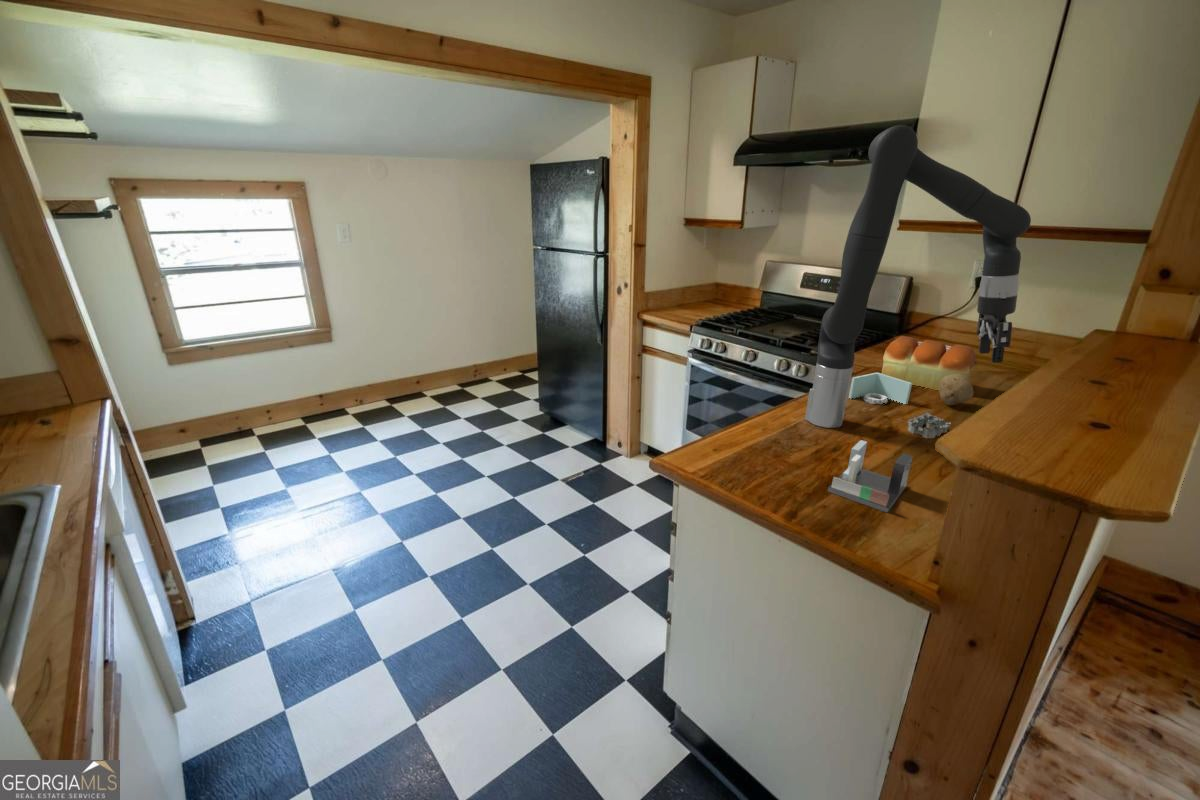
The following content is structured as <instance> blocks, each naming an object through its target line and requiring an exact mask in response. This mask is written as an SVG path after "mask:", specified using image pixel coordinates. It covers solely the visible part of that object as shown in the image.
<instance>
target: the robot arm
mask: <svg viewBox="0 0 1200 800" xmlns="http://www.w3.org/2000/svg"><path fill="white" fill-rule="evenodd" d="M918 142H919V141H918V136H917V134H916V132H915V130H914V129H913V128H911V127H910V126H908V125H904V124H898V125H894V126H891V127H888V128H886V129H885V130H884V131H882V132H880V133H878V135H876V136H875V137H874V138H873V140H872V141H871V143H870V145H869V148H868V153H867V155H868V160H869V162H870V163H871V169H870V173H869V178H868V182H867V186H866V190H865V193H864V195H863V198H862V199H861V202H860V204H859V206H858V208H857V210H856V212H855V214H854V216H853V219H852V222H851V224H850V226H849V229H848V233H847V236H846V241H845V243H844V244H845V245H844V247H843V252H842V258H841V267H840V268H841V269H840V282H839V287H838V292H837V295H836V298H835V301H834V305H832V306H830V307H829V308H828V309H827V310H826V311H825V312H824V314H823V316H822V320H821V324H820V330H819V338H818V344H817V358H816V359H817V360H816V365H815V372H814V378H813V383H812V387H811V388H810V389H809V391H808V397H807V398H808V399H807V404H806V409H805V410H806V411H805V416H804V417H805V419H804V421H807V422H809V423H811V424H813V426H814V425H815V426H818V427H821V428H827V429H828V428H829V429H830V428H832V429H833V428H834V429H835V428H840V427H841V426H842V425H843V421H844V418H845V417H844V416H845V412H846V406H847V401H848V397H849V392H850V387H851V381H852V374H853V369H854V364H855V357H856V355H855V346H856V345H855V343H856V340H857V338H858V337H859V336H860V335H861V333H862V331H863V328H864V324H865V319H866V312H867V308H868V304H869V303H868V302H869V298H870V294H871V291H872V287H873V285H874V282H875V279H876V277H877V275H878V272H879V269H880V266H881V262H882V260H883V257H884V254H885V250H886V248H887V244H888V241H889V238H890V234H891V230H892V226H893V223H894V220H895V216H896V215H895V213H896V210H897V205H898V202H899V201H898V200H899V197H900V193H901V190H902V187H903V184H904V182H905V181H906V182H907V181H908V182H910V183H911V184H913V185H914V186H917V187H918V188H920V189H921V190H923V191H924V192H926V193H927V194H929V195H930V196H932V197H934V199H936V200H938V201H939V202H940V203H942V204H943V205H945V206H946V207H948V208H949V209H951V210H953V211H955V213H957V214H959V215H961V216H962V217H965V218H966V219H969V220H973V221H975V222H977V223H978V224H979V225H982V245H983V253H984V258H983V263H982V265H983V266H982V275H981V280H980V282H979V291H978V298H977V299H978V300H977V307H976V311H977V313H978V321H977V328H976V335H977V336H978V339H980V340H979V344H978V345H979V346H978V353H980V354H989V353H990V352H991V356H990V357H991V359H990V361H991V362H992V363H993V364H1000V363H1003V361H1004V356H1005V355H1004V354H1005V348H1009V347H1010V346H1011V340H1012V330H1013V322H1011V321H1007V316H1008V315H1011V314H1014V313H1015V312H1016V307H1017V302H1018V300H1017V299H1018V292H1019V285H1020V279H1019V278H1020V277H1019V275H1020V267H1021V259H1022V257H1021V256H1022V254H1021V253H1022V252H1021V251H1020V249H1018V247H1017V238H1018V237H1021V236H1022V235H1023V234H1025V233H1026V232H1027V231H1028V229H1029V228H1030V226H1031V223H1032V222H1031V221H1032V218H1031V215H1030V213H1029V211H1028V210H1026V209H1025V208H1024V207H1023V206H1021V205H1020V204H1018V203H1015V202H1014V201H1011V200H1010V199H1008V198H1005V197H1003V196H1001V195H999V194H997V193H995V192H993V191H991V189H990V188H988V187H986V186H985V185H984V184H982V183H980V182H979V181H977V180H975V179H974V178H972V177H971V176H968V175H967V174H964V173H963V172H961V171H958V170H956V169H954V168H952V167H950V166H947V165H945V164H943V163H941V162H939V161H937V160H935V159H933V158H932V157H930V156H928V155H927V154H925V152H923V151H921V150H920V149H919V148H918V146H919V145H918ZM991 343H992V351H991Z"/></svg>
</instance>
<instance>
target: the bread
mask: <svg viewBox="0 0 1200 800" xmlns="http://www.w3.org/2000/svg"><path fill="white" fill-rule="evenodd" d="M918 342H919V341H917V340H916V339H915V338H914V337H913V336H905V335H900V336H898V337H897V338H896V339H894V340H893V341H892V342H890V343H889V344H888V346H887V347H886V348H885V351H884V354H883V358H882V360H883V363H882V369H881V374H884V375H887V376H891V377H894V378H897V379H900V380H904V381H907V382H910V383H912V385H916V386H921V387H925V388H924V389H926V388H930V389H934V390H933V391H935V390H939V383H940V381H941V379H943V378H944V377H946V376H948V375H953V374H955V375H957V374H960V375H963V376H965V377H966V378H967V379H968V380H969V379H970V375H971V373H972V369H973V368H974V367H975V362H976V357H977V356H976V353H975V350H974V349H973V348H972V347H971V346H970V345H964V344H958V343H956V344H953V346H951V348H950V349H949V350H946V346H947V345H946V344H945V343H944V342H942V341H936V340H931V339H925V340H923V341H921V342H922V343H921V344H920V345H919V344H918ZM945 345H946V346H945ZM969 381H970V380H969ZM916 386H915V387H916ZM921 387H920V388H921ZM930 389H929V390H930Z"/></svg>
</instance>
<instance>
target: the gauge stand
mask: <svg viewBox="0 0 1200 800" xmlns="http://www.w3.org/2000/svg"><path fill="white" fill-rule="evenodd" d="M913 457H914V456H913V455H911V454H907V453H901V455H899V457H898V458H897V459H896V460H895V462H894V465H893V469H892V474H891V476H887V475H884V474H880V473H877V472H874V471H871V470H868V469H865V468H862V469H861V470H860V471H859V472H858V474H857V476H856V480H855V483H852V482H849V481H847V480H848V479H847V480H845V479H842V476H843V473H844V472H845V471H846V470H847V469H848V467H847V468H846V469H845V470H844V471H843V472H842V473H841V474H840V475H839V476H838V477H836V476H833V478H832V483H831V484H830V485H829V486H828V487H827V488H828V489H827V492H828V493H830V494H834V495H837V496H840V497H842V498H845V499H848V500H850V501H853V502H856V503H859V504H863V505H864V506H867V507H871V508H873V509H877V510H878V511H882V512H885V513H888V512H889V511H890V510H891V508H892V507H893V506H894V504H895V503H896V501H897V500H898V498H899V497H900V496H901V494H902V493H903V491H904V490H905V489H906V487H907V483H908V482H907V481H908V477H909V473H910V469H911V466H912V461H913Z"/></svg>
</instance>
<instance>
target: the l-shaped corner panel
mask: <svg viewBox="0 0 1200 800" xmlns="http://www.w3.org/2000/svg"><path fill="white" fill-rule="evenodd" d="M881 373H882V372H881ZM881 373H880V372H873V373H872V372H871V373H869V374H863V375H858V376H853V377H851V380H850V386H849V391H848V396H847V399H849V398H850V399H849V400H852V398H853V399H857V398H861V397H863V401H865V403H869V404H871V405H872V404H875V405H882V404H883V403H885V404H887V403H888V402H889V401H888V400H890V399H891V400H890V401H893V400H894V402H896V401H897V402H896V403H899V402H900V403H899V404H901V403H903V404H902V405H904V404H907V405H908V404H909V403H908V402H909V400H910V395H911V391H912V387H913V386H912V383H910V382H907V381H904V380H900V379H897V378H894V377H891V376H887V375H884V374H881ZM860 396H861V397H860ZM856 397H857V398H856ZM887 398H888V399H887ZM885 404H883V405H885Z"/></svg>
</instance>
